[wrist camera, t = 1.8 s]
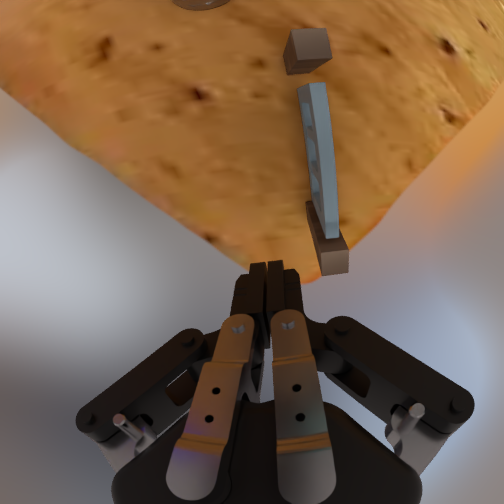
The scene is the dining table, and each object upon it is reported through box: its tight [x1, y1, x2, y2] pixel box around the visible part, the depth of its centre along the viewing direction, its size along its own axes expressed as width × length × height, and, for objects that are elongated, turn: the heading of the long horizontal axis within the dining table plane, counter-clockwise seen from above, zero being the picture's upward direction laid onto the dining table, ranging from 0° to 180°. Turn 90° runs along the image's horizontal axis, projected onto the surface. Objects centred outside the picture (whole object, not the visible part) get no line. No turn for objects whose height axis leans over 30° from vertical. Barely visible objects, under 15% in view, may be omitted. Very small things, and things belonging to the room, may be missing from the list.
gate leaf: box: [297, 82, 339, 239], centre depth 24 cm, size 13×1×10 cm, turn 10°
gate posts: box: [283, 28, 349, 276], centre depth 24 cm, size 21×2×12 cm, turn 10°
